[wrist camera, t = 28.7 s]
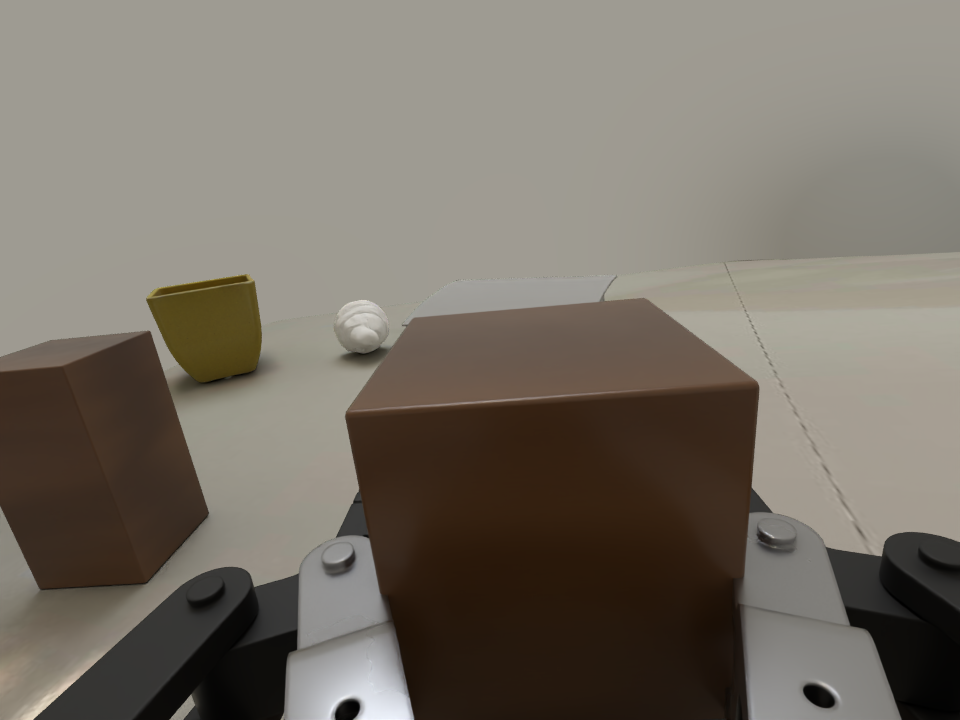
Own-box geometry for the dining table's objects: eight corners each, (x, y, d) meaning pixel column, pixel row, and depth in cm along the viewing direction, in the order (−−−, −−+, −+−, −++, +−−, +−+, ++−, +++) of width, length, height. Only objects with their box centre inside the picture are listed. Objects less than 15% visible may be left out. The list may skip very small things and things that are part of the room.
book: (458, 306, 69) (454, 277, 68) (631, 305, 59) (630, 272, 58) (394, 339, 56) (388, 304, 55) (601, 345, 46) (600, 303, 45)
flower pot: (180, 371, 53) (154, 286, 50) (268, 352, 57) (248, 272, 54) (175, 396, 46) (144, 298, 43) (277, 372, 49) (254, 280, 46)
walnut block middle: (145, 583, 22) (61, 365, 19) (39, 589, 22) (-62, 377, 19) (209, 513, 27) (150, 330, 23) (120, 519, 27) (50, 340, 24)
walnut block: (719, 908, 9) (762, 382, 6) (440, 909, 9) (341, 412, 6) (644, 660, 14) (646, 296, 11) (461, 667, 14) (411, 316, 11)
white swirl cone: (344, 369, 48) (333, 313, 46) (338, 353, 53) (328, 303, 51) (401, 357, 49) (392, 303, 48) (389, 343, 55) (381, 294, 53)
